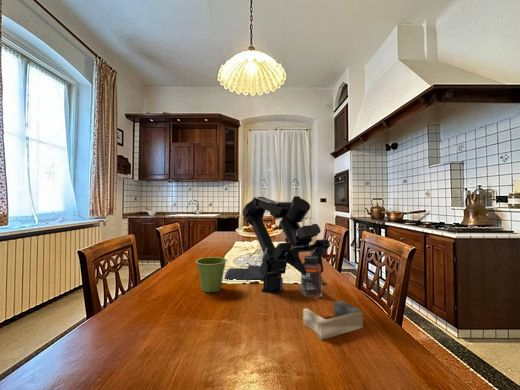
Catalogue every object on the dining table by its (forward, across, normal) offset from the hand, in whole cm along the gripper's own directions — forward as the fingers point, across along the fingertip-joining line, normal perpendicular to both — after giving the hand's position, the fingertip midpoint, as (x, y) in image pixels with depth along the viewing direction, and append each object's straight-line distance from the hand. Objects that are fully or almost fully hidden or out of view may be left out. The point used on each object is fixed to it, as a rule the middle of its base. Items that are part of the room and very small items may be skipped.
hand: (313, 273), depth 80 cm
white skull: (-2, +11, +21) cm, 24 cm away
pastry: (-10, +20, +29) cm, 37 cm away
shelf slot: (+14, 0, +4) cm, 14 cm away
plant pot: (-17, -20, +35) cm, 44 cm away
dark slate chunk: (-23, 0, +43) cm, 49 cm away
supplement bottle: (+4, 0, +6) cm, 7 cm away
